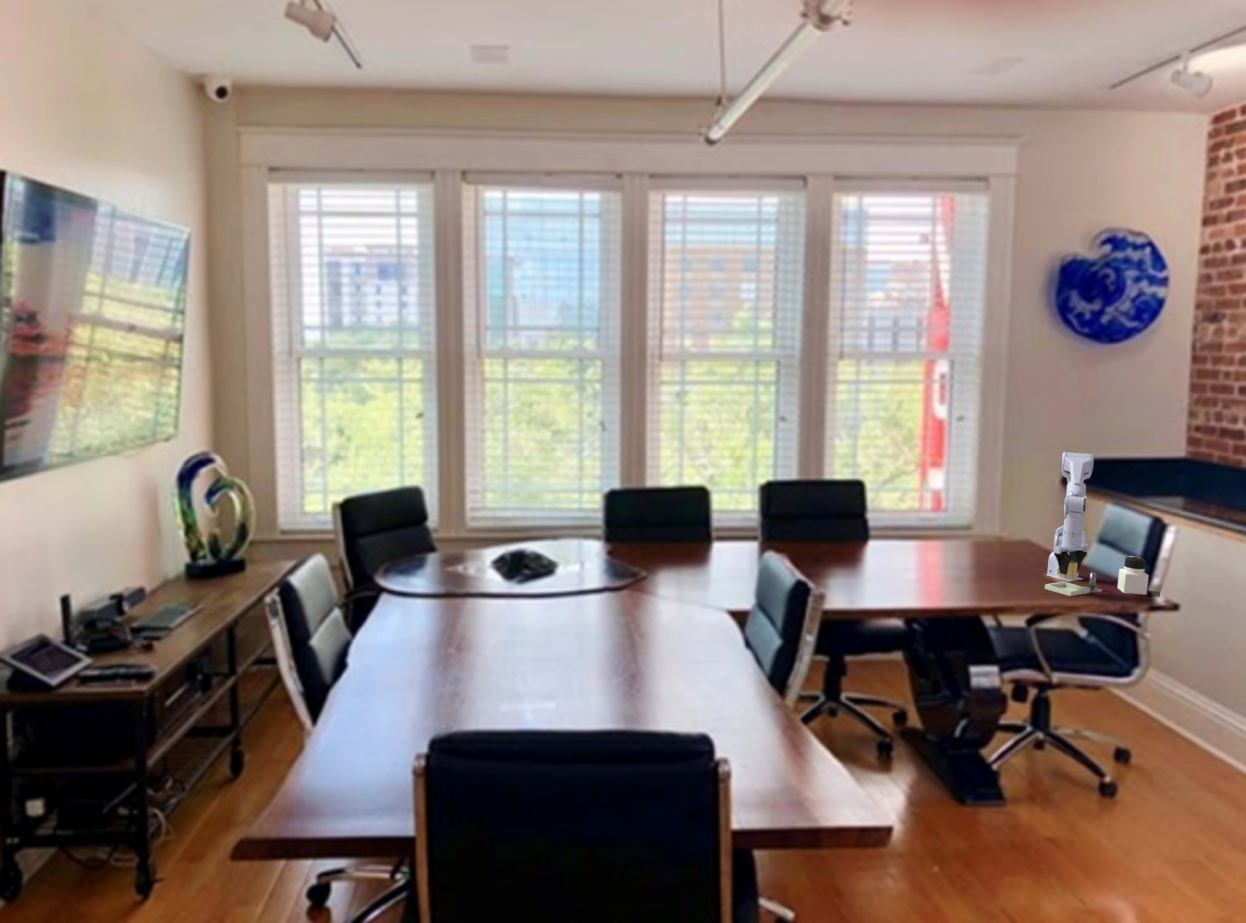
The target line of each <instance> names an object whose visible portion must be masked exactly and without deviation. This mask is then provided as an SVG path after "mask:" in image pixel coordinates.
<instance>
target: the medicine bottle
mask: <svg viewBox="0 0 1246 923" xmlns="http://www.w3.org/2000/svg"><path fill="white" fill-rule="evenodd" d="M1146 562H1147V561H1146V559H1144V558H1143V557H1140V556H1134V555H1131V556H1130V555H1129V556H1126V557H1125V558H1124V566H1123V568H1119V571H1118V577H1117V578H1118V579H1117V589H1118V590H1119V591H1121V592H1122V593H1123V594H1131V595H1132V594H1133V595H1144V596H1145V595H1146V596H1147V595H1148V587H1149V577H1150V575H1149V574H1147V573H1146V572H1145V570H1146Z"/></svg>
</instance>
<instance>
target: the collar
mask: <svg viewBox="0 0 1246 923" xmlns="http://www.w3.org/2000/svg"><path fill="white" fill-rule="evenodd" d="M1057 575H1059V576H1060V577H1063V578H1071V579H1072V578H1076V577H1077V562H1076V561H1071V560H1070V562H1069V566H1068V571H1067V574H1066V575H1065V574H1061V573H1060V571H1059V568H1058V569H1057Z"/></svg>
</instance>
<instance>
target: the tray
mask: <svg viewBox="0 0 1246 923" xmlns="http://www.w3.org/2000/svg"><path fill="white" fill-rule="evenodd" d="M1044 589H1045V590H1048V591H1050V592H1055V593H1058V594H1062V595H1065V596H1068V597H1073V596H1074V597H1075V596H1079V595H1080V596H1081V595H1085V594H1090V592H1091V591H1090V589H1089V588H1085V586H1081V585H1077V584H1075V583H1070V582H1068V581H1059V582H1053V583H1046V584H1044Z"/></svg>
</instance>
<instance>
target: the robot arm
mask: <svg viewBox="0 0 1246 923" xmlns="http://www.w3.org/2000/svg"><path fill="white" fill-rule="evenodd" d="M1061 458H1062V459H1061V465H1060V466H1061V472H1060V473H1061V476H1062V477H1064V478H1066V482H1067V484H1066V492H1065V493H1066V495H1065V498H1064V503H1063V504H1064V505H1063V513H1064V514H1063V518H1064V519H1063V525H1061V526H1060V527H1058V528H1057V529H1056V530H1055V534H1054V542H1053V551H1052V552H1051V553H1050V554H1049V556H1048V560H1047V562H1048V563H1047V573H1046V574H1045V575H1046V576H1049V577H1052V578H1055V579H1059V580H1063V581H1065V582H1074V581H1080V580H1084V578H1082V577H1079V570H1080V568H1081V565H1082V563H1083V561H1084V559H1085V558H1086V556H1088V552H1087V551H1088V549H1089V544H1088V543H1086V542H1087V539H1086V537H1087V533H1086V532H1085V530H1084V520H1085V515H1086V513H1087V506H1088V504H1087V503H1088V499H1087V498H1088V497H1087V495H1086V494H1087V492H1086V491H1087V485H1086V484H1085V483H1084V481H1085V480H1087V479H1090V478H1091V476H1092V473H1093V470H1094V461H1095V460H1094V459H1095V456H1094V454H1093V453H1082V452H1081V453H1079V452H1069V451H1068V452H1066V451H1063V453H1062V456H1061ZM1070 560H1071V561H1076V562H1077V577H1076V578H1072V579H1071V578H1063V577H1060V576H1059V575H1057V569H1058V568H1059V571H1060V573H1061V574H1065V575H1066V574H1067V571H1068V566H1069V562H1070Z"/></svg>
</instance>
